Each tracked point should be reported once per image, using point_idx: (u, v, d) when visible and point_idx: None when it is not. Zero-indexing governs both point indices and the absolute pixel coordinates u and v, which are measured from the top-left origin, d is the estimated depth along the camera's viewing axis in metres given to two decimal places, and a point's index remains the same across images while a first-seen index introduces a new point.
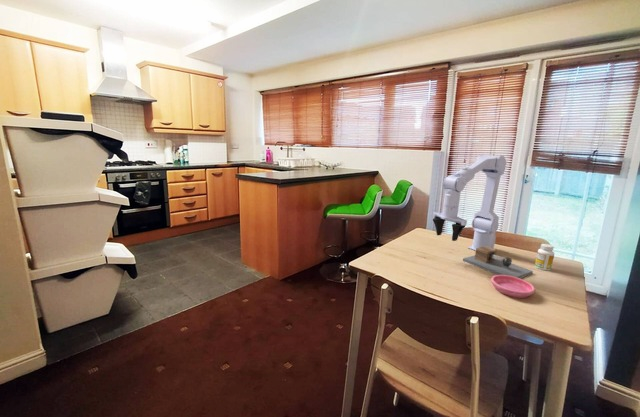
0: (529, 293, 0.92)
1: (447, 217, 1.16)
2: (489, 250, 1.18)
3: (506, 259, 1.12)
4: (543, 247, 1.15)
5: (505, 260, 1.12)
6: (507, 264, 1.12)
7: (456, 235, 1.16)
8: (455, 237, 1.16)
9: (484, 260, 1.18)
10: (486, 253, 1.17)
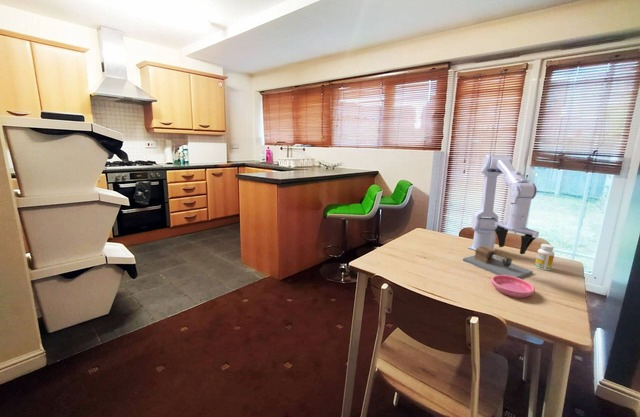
0: (529, 293, 0.92)
1: (515, 228, 1.05)
2: (489, 250, 1.18)
3: (506, 259, 1.12)
4: (543, 247, 1.15)
5: (505, 260, 1.12)
6: (507, 264, 1.12)
7: (525, 248, 1.05)
8: (524, 250, 1.05)
9: (484, 260, 1.18)
10: (486, 253, 1.17)
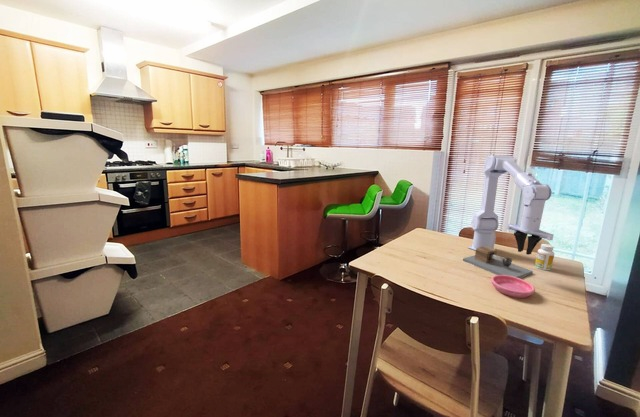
0: (529, 293, 0.92)
1: (528, 230, 1.03)
2: (489, 250, 1.18)
3: (506, 259, 1.12)
4: (543, 247, 1.15)
5: (505, 260, 1.12)
6: (507, 264, 1.12)
7: (531, 248, 1.05)
8: (530, 250, 1.05)
9: (484, 260, 1.18)
10: (486, 253, 1.17)
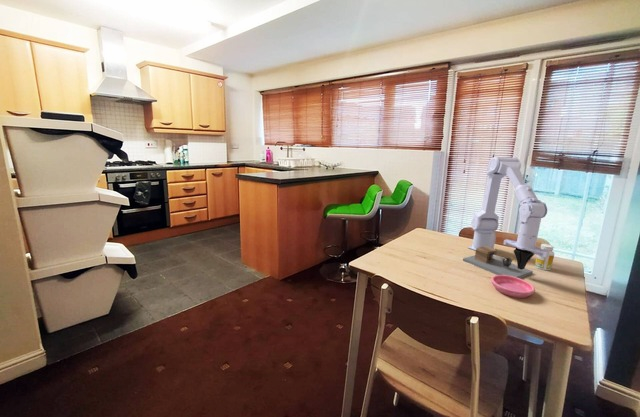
0: (529, 293, 0.92)
1: (525, 247, 1.05)
2: (489, 250, 1.18)
3: (506, 259, 1.12)
4: (543, 247, 1.15)
5: (505, 260, 1.12)
6: (507, 264, 1.12)
7: (524, 263, 1.08)
8: (523, 265, 1.08)
9: (484, 260, 1.18)
10: (486, 253, 1.17)
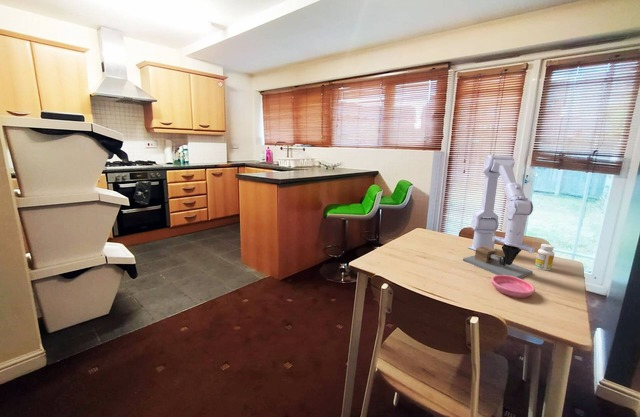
0: (529, 293, 0.92)
1: (512, 243, 1.08)
2: (489, 250, 1.18)
3: (502, 258, 1.13)
4: (543, 247, 1.15)
5: (501, 259, 1.13)
6: (503, 263, 1.13)
7: (511, 259, 1.12)
8: (510, 261, 1.12)
9: (484, 260, 1.18)
10: (486, 253, 1.17)
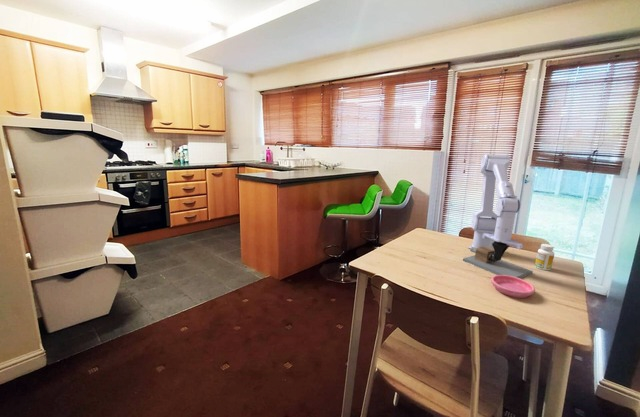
0: (529, 293, 0.92)
1: (501, 240, 1.12)
2: (489, 250, 1.18)
3: (493, 254, 1.17)
4: (543, 247, 1.15)
5: (492, 255, 1.17)
6: (494, 259, 1.17)
7: (500, 255, 1.15)
8: (499, 257, 1.15)
9: (484, 260, 1.18)
10: (486, 253, 1.17)
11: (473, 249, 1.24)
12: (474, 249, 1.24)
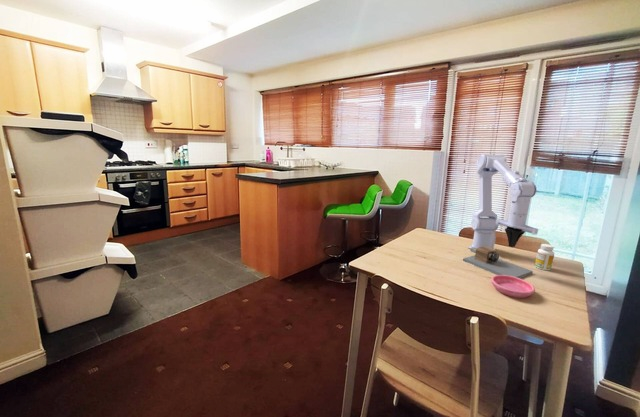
0: (529, 293, 0.92)
1: (515, 225, 1.10)
2: (489, 250, 1.18)
3: (493, 254, 1.16)
4: (543, 247, 1.15)
5: (492, 255, 1.17)
6: (494, 259, 1.17)
7: (515, 241, 1.13)
8: (514, 243, 1.13)
9: (484, 260, 1.18)
10: (486, 253, 1.17)
11: (473, 249, 1.24)
12: (474, 249, 1.24)
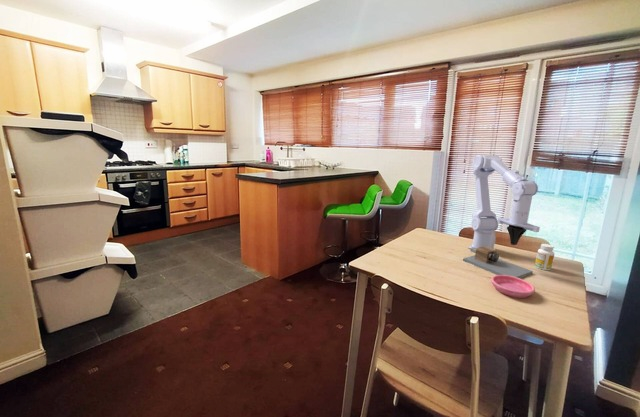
0: (529, 293, 0.92)
1: (517, 223, 1.12)
2: (489, 250, 1.18)
3: (493, 254, 1.16)
4: (543, 247, 1.15)
5: (492, 255, 1.17)
6: (494, 259, 1.17)
7: (517, 239, 1.15)
8: (516, 241, 1.15)
9: (484, 260, 1.18)
10: (486, 253, 1.17)
11: (473, 249, 1.24)
12: (474, 249, 1.24)
